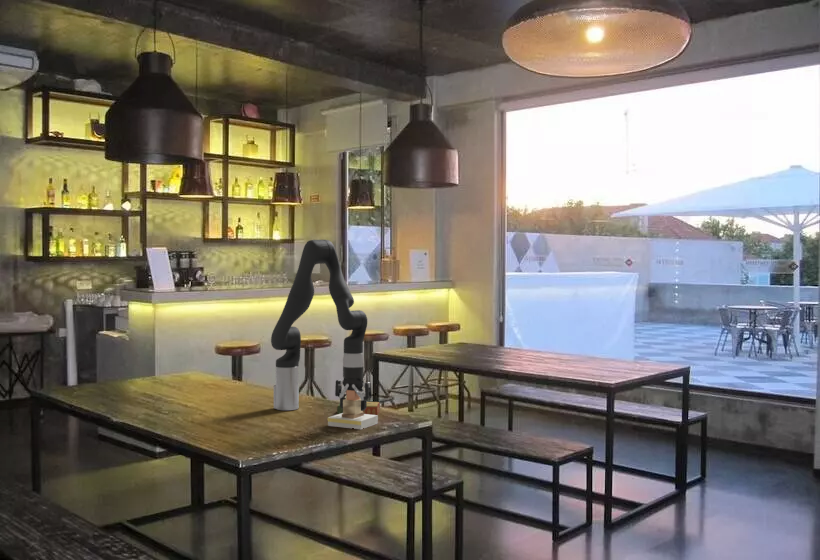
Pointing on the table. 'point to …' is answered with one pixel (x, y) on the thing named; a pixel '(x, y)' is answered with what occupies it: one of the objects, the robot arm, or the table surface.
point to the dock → (353, 421)
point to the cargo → (352, 395)
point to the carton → (371, 409)
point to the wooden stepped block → (352, 409)
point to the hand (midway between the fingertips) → (353, 409)
